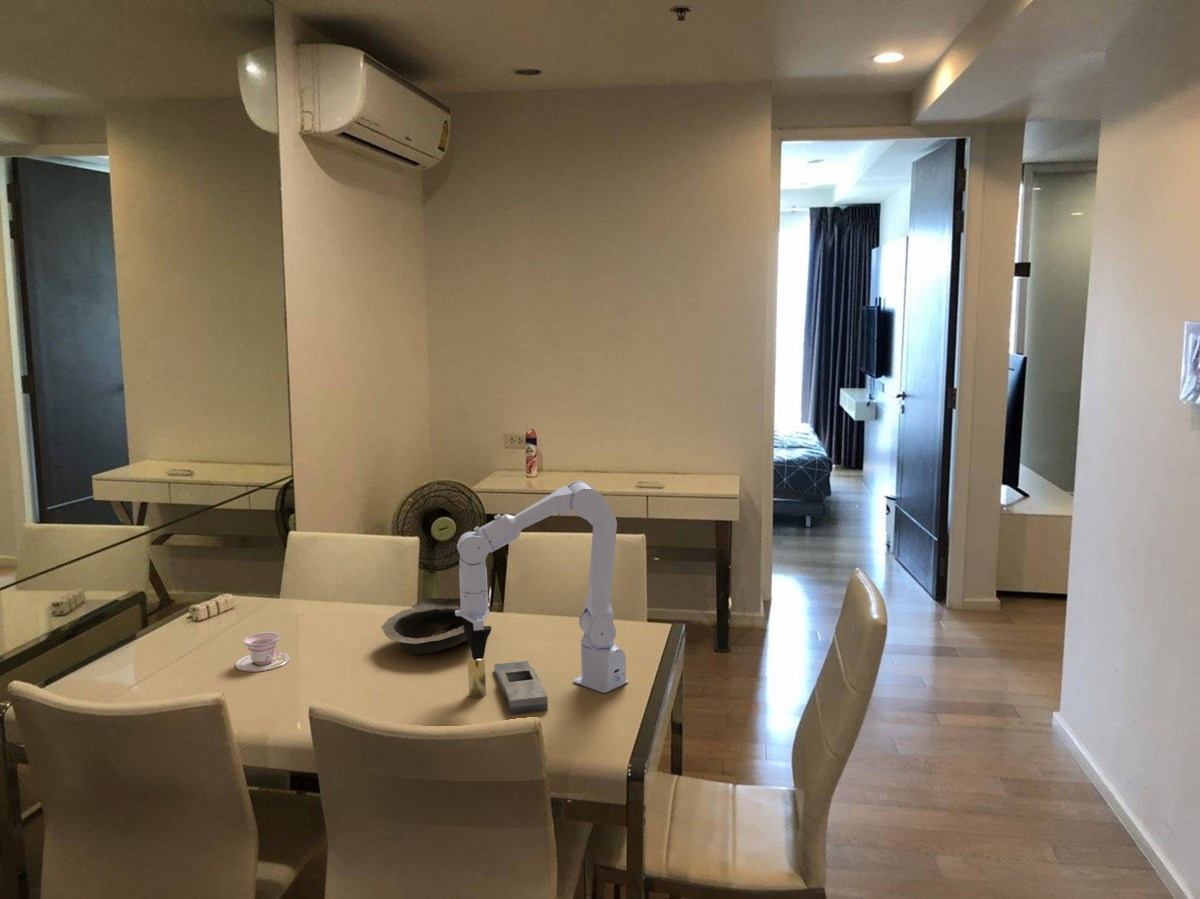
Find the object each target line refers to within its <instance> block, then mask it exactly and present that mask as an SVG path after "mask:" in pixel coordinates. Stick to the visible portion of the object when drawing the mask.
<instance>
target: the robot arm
mask: <svg viewBox="0 0 1200 899" xmlns="http://www.w3.org/2000/svg"><path fill="white" fill-rule="evenodd" d="M572 510H573V512H574V513H575V514H576V515H577V516H578V517H580V518H582V519H584V520H586V521H587V522H589V524H590V525H591V526H592V537H591V538H592V539H591V551H590V553H591V554H590V563H589V577H588V578H589V579H588V589H587V597H586V600H585V602H584V608H583V610H582V612H581V614H580V616H579V619H578V624H579V628H580V629H581V631H582V632H583V636H582V638H581V640H580V656H581V657H580V659H581V660H580V663H581V665H580V666H581V676H579V677H576V678H574V679H572V682H573V683H574V684H576V685H577V684H578V685H580V686H583V687H586V688H588V689H591V690H594V691H597V692H600V693H602V694H605V693H608V692H610V691H612V690H613V691H614V690H615V689H618V688H619V687H621V686H624V685H625V684H628V683H629V680H628V679H626V678H627V677H626V675H627V674H626V673H627V672H626V671H627V669H626V667H627V666H626V654H625V652H624V650H623V649H621V648H620V647H618V646H617V645H616V643H615V639H616V635H617V629H616V626H615V624H614V612H613V609H612V608H613V607H612V601H611V599H612V591H613V590H612V588H613V579H614V578H613V576H614V567H615V566H614V564H615V553H616V540H617V539H616V538H617V531H618V530H617V528H618V521H617V517H616V516H615V514H614V513H613V511H612V509H611V507H610V505H609V504H608V503H607V499H606V497H604V496H603V495H602V494H600V493H599V491H598V490H596V489H595V488H594V487H593V486H591V485H590V484H589V483H588V482H586V481H583V480H575V481H573V482H571V483H570V484H568V485H564V486H561V487H560V488H558V489H556V490H554V492H552V493H550V494H547V496H545V497H544V498H542V499H539V500H538V501H537V502H535V503H533V504H532V505H530V506H528V507H527V508H525V509H523V510H521V511H520V512H518V513H517V514H515V515H511V514H508V513H505V514H502V515H501V514H500V513H498V514H496V515H494V517H493V518H494V519H493V520H491V521H490V522H488V523H486V524H484V525H482V526H480V527H479V526H475V527H474V528H473V531H467V532H464V533H463V534H462V535H461V536H459V537H460V538H459V539H458V540H457V544H456V548H457V552H458V554H459V561H458V563H459V564H458V565H459V569H458V572H459V573H458V575H459V576H458V577H459V598H460V605H461V610H456V611H455V615H456V616H459V617H460V618H461V620H462V622H463V624H464V627H463V629H464V632H465V634H466V636H467V641H468V644H467V645H468V646H469V649H470V654H471V656H472V657H473V660H476V659H483V657H485V652H486V645H487V642H488V638H489V636H490V633H492V632H491V631H492V626H491V625H485V624H484V621H486V619H487V617H488V616H489V614H490V609H489V594H488V572H487V570H488V569H487V567H486V566H487V565H486V564H487V562H486V559H487V557H488V554H489V553H493V552H495V551H496V550H499V549H501V548H502V547H504V546H506V545H508V544H510V543H512V542H514V541H516V540H517V539H519V537H520V534H521V532H522V530H524V529H526V528H528V527H530V526H532V525H535V524H536V523H538V522H540V521H543V520H544V519H547V518H548V517H550V516H553V515H555V514H558V515H559V514H560V515H567V516H571V515H572Z"/></svg>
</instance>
